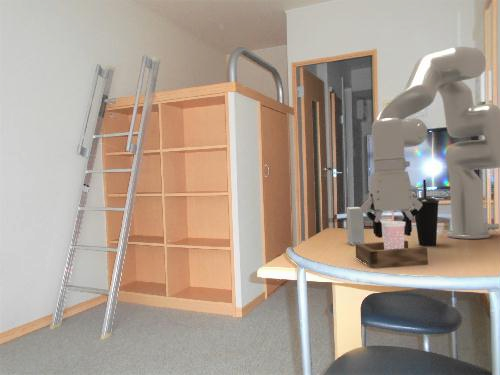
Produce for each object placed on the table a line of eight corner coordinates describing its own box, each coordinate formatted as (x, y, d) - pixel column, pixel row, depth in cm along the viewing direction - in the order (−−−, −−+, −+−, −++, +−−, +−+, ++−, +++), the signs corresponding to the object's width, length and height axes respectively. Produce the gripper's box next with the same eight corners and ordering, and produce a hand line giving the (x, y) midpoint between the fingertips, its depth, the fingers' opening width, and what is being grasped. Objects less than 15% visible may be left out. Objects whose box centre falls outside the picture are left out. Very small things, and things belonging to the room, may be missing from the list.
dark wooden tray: (406, 255, 108) (405, 240, 108) (428, 264, 96) (427, 247, 96) (356, 258, 107) (355, 243, 107) (371, 268, 95) (370, 251, 95)
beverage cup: (384, 253, 106) (382, 202, 106) (409, 255, 103) (406, 201, 103) (379, 258, 101) (377, 203, 101) (404, 259, 98) (402, 203, 97)
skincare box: (365, 245, 126) (363, 207, 126) (351, 245, 127) (349, 208, 126) (360, 242, 133) (358, 206, 132) (347, 242, 133) (345, 207, 132)
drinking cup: (412, 246, 119) (409, 180, 118) (415, 242, 126) (412, 180, 125) (440, 247, 115) (437, 179, 115) (441, 243, 122) (438, 178, 122)
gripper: (415, 165, 105) (418, 231, 106) (351, 169, 105) (355, 236, 105) (429, 164, 98) (433, 235, 98) (360, 168, 97) (364, 240, 97)
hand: (392, 235), depth 102 cm, fingers open, 6 cm apart
